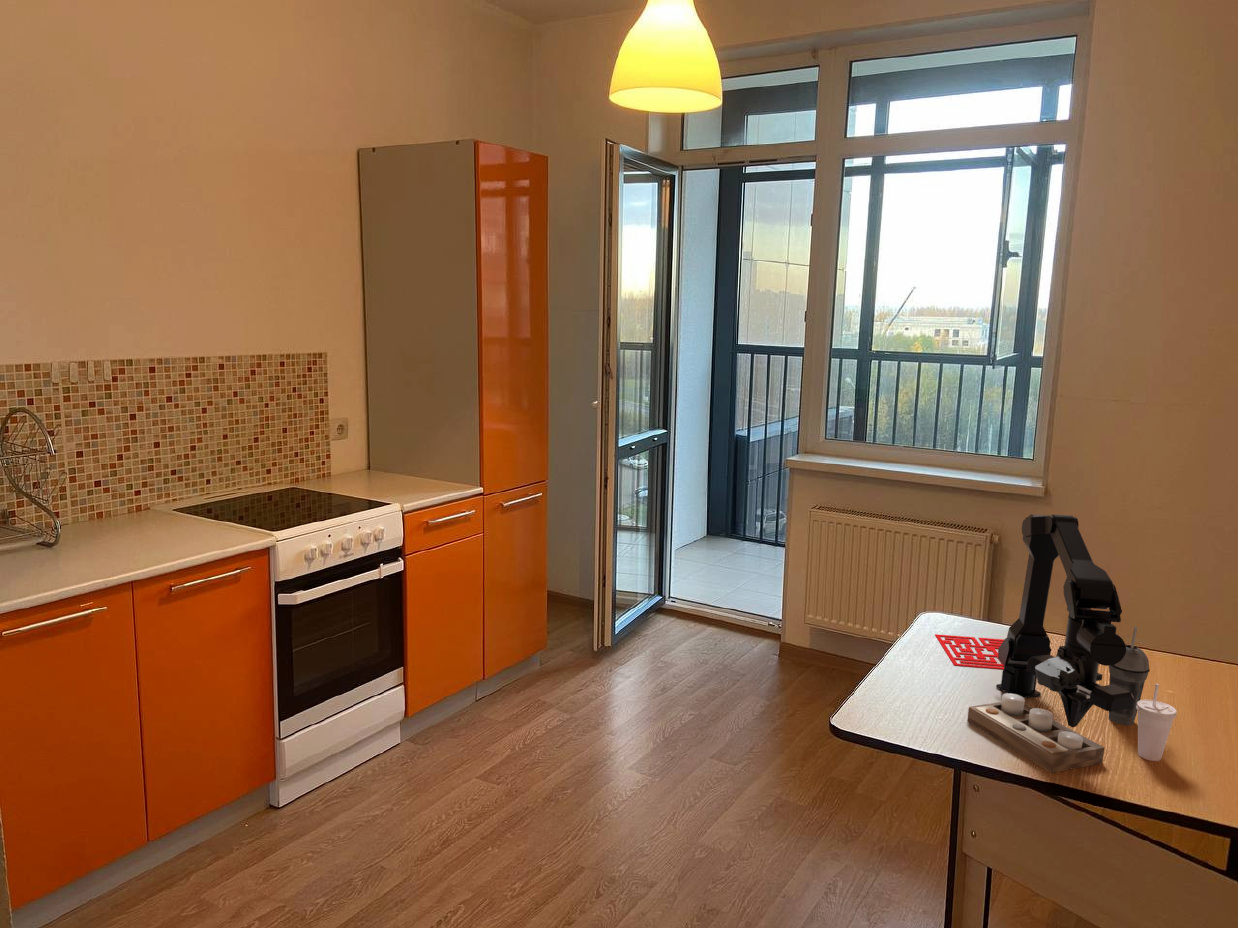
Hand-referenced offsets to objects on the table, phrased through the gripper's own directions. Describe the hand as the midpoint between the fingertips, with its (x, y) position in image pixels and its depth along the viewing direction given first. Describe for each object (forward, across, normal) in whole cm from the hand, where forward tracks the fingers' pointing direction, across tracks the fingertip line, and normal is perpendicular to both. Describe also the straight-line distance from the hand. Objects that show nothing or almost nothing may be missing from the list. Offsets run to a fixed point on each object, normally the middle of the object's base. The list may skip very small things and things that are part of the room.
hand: (1072, 726), depth 165 cm
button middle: (+4, -7, 0) cm, 8 cm away
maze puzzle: (+7, -46, +24) cm, 52 cm away
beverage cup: (+6, -9, +24) cm, 26 cm away
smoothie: (+6, +4, +16) cm, 17 cm away
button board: (+6, -7, -1) cm, 9 cm away
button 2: (+5, 0, 0) cm, 5 cm away
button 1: (+4, -14, 0) cm, 15 cm away
